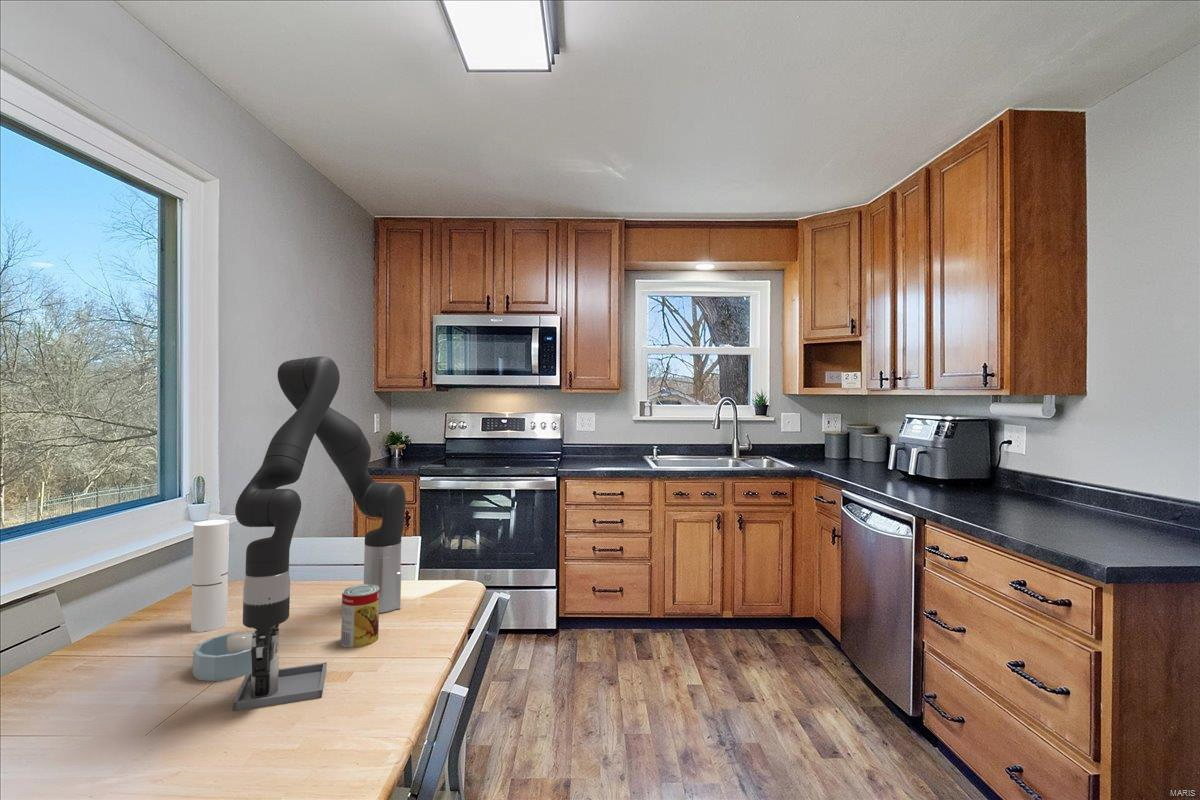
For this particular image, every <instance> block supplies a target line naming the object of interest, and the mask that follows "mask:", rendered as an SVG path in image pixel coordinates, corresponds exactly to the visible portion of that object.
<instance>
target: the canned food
mask: <svg viewBox="0 0 1200 800" xmlns="http://www.w3.org/2000/svg"><path fill="white" fill-rule="evenodd" d="M341 595H342V596H341V623H340V624H341V627H340V628H341V630H340V633H341V634H340V635H341V636H340V639H341V640H340V645H341V646H344V647H345V648H361V647H362V648H363V647H367V646H370V645H372V644H374V643H376V642H377V641H378V640H379V626H380V625H379V624H380V623H379V622H380V621H379V620H380V619H379V618H380V613H379V587H378V586H376V585H371V584H364V583H363V584H357V585H352V586H347V587H345V588H344V589H343V590H342V593H341Z"/></svg>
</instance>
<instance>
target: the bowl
mask: <svg viewBox="0 0 1200 800" xmlns="http://www.w3.org/2000/svg"><path fill="white" fill-rule="evenodd" d="M244 631H245V630H243V631H242V632H244ZM247 631H248V632H252V633H253V636H254V635H255V631H256V630H255V631H254V630H247ZM237 632H238V631H237ZM237 632H236V631H235V632H228V633H224V634H221V635H217V636H213V637H211V638H209V639H207V640H204V641H202V642H201V643H198V644H197V645H196V647H195V648H194V649H193V651H192V676H193V677H195V678H196V679H197V680H198V681H208V682H209V681H210V682H218V681H225V680H233V679H237V678H239V677H240V678H241V677H243V676H246V674H247V673H251V662H252V655H251V649H252V648H251V649H248V650H245V651H241V652H238V653H234V654H227V637H228V636H229V635H231V634H234V633H237ZM252 647H253V646H252Z"/></svg>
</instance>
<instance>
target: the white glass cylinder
mask: <svg viewBox="0 0 1200 800" xmlns="http://www.w3.org/2000/svg"><path fill="white" fill-rule="evenodd" d="M243 631H244V632H243ZM243 631H237V633H234V632H233V633H234V634H231V635H229V636H228V637H227V654H234V653H238V652H241V651H245V650H248V649H251V648H252V636H253V633H252V632H248V631H249V630H243Z"/></svg>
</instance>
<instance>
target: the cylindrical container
mask: <svg viewBox="0 0 1200 800" xmlns="http://www.w3.org/2000/svg"><path fill="white" fill-rule="evenodd" d="M192 539H193V541H192V543H193V544H192V570H191V571H192V572H191V573H192V575H191V576H192V577H191V578H192V579H191V583H192V584H191V610H190V611H191V614H190V615H191V616H190V618H191V619H190V631H191V630H192V632H194V631H195V632H194V633H204V631H207V632H211V630H212V631H216V630H218V629H221V627H222V628H224V627H225V626H226V625H228V623H227V622H228V621H227V620H228V619H227V618H228V590H229V589H228V588H229V587H228V584H229V583H228V582H229V554H230V553H229V548H230V547H229V546H230V544H229V542H230V520H227V519H208V520H203V521H202V520H201V521H196V522H195V523H193V537H192ZM215 629H216V630H215Z"/></svg>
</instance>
